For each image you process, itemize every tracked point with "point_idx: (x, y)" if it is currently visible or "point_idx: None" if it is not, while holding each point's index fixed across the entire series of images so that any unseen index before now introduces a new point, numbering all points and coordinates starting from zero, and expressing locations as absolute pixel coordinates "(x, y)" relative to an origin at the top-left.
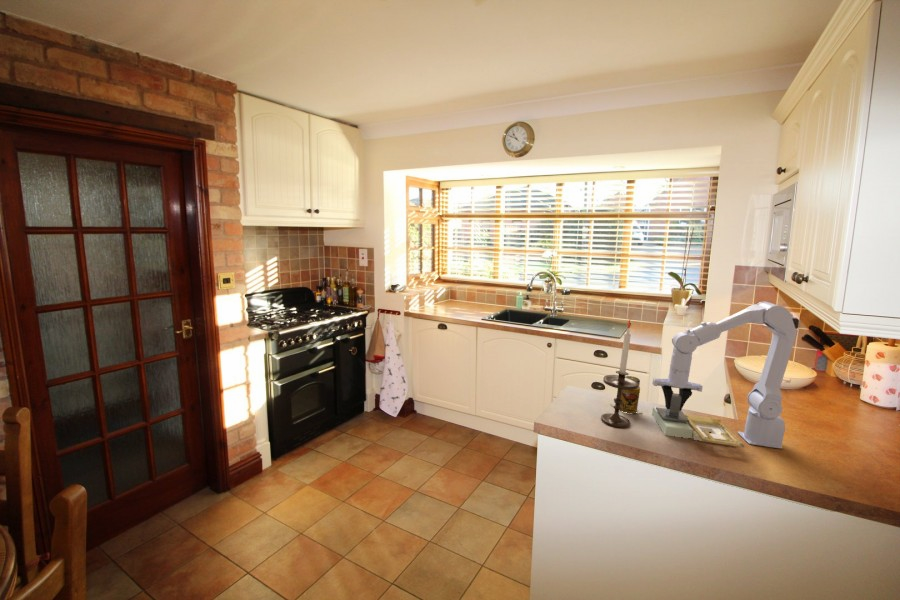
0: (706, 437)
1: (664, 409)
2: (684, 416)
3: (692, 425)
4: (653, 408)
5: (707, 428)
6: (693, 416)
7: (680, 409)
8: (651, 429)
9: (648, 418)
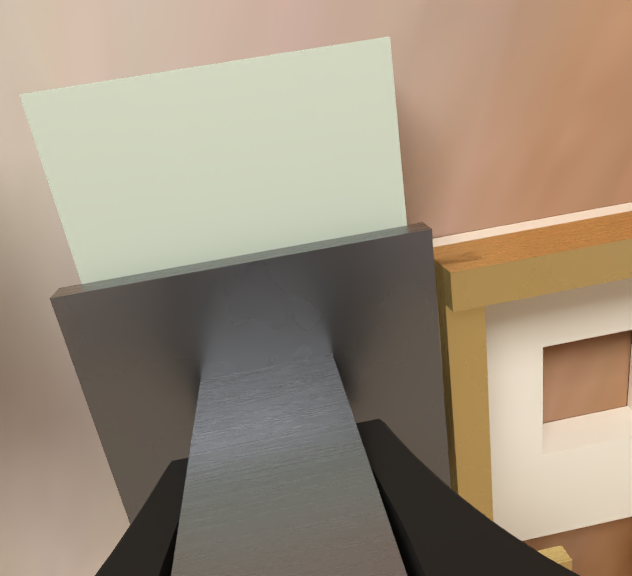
0: (535, 537)
1: (180, 320)
2: (424, 425)
3: None
4: (38, 126)
5: (626, 327)
6: (556, 290)
7: None
8: (87, 516)
9: (35, 257)
